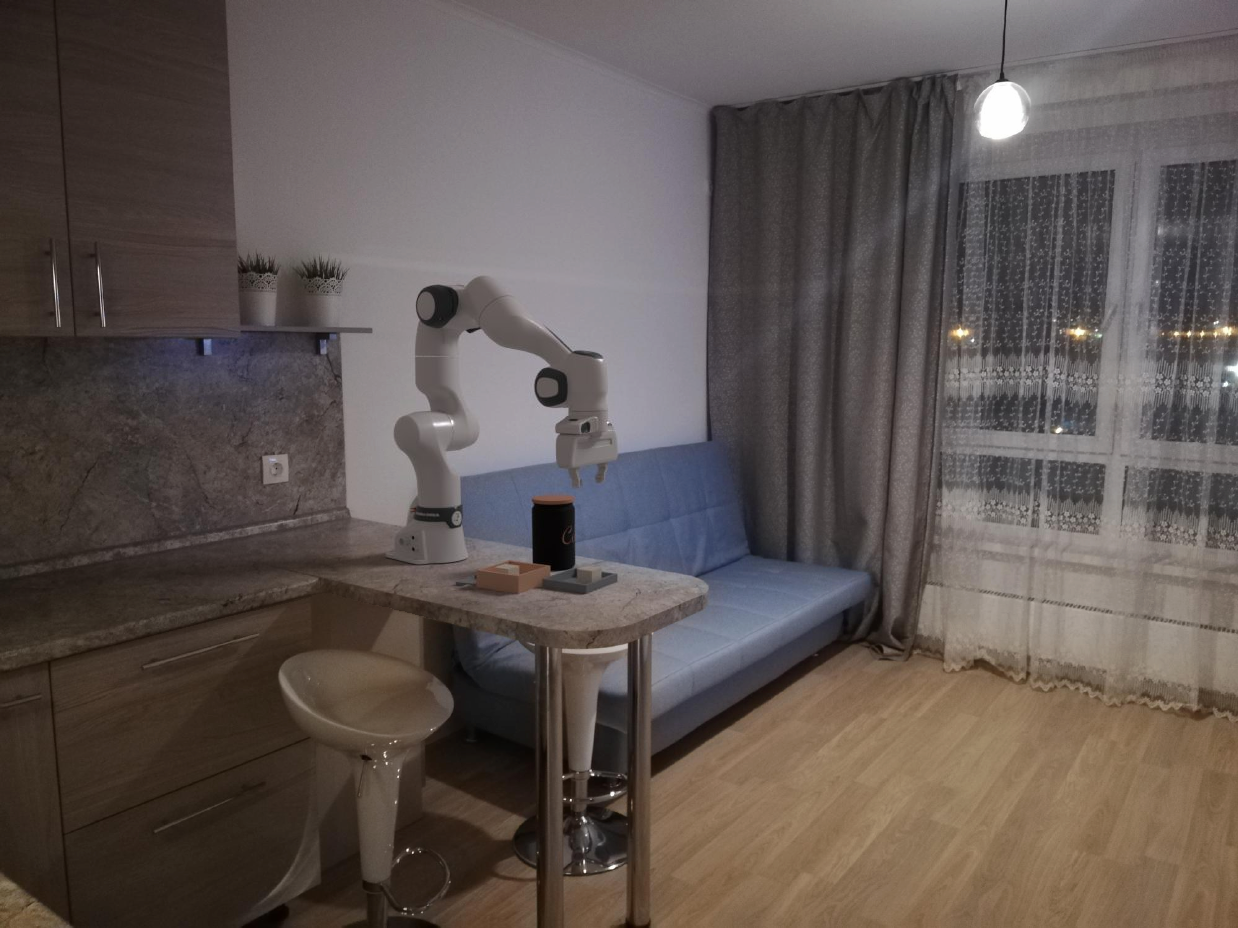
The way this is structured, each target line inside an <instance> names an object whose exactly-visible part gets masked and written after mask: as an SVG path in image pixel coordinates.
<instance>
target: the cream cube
mask: <svg viewBox="0 0 1238 928" xmlns="http://www.w3.org/2000/svg"><path fill="white" fill-rule="evenodd" d="M495 572H499V573H506V574H512V575H519V566H517V565H510V564H503V565H500V566H497V567H495Z"/></svg>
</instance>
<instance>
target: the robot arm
mask: <svg viewBox="0 0 1238 928" xmlns="http://www.w3.org/2000/svg"><path fill="white" fill-rule="evenodd" d="M416 297H417V298H416V301H415V309H416V310H415V311H416V315H417V318H418V319H419V321H418V323H417V329H416V335H415V342H414V343H415V344H414V346H415V347H414V366H415V367H414V369H415V370H414V371H415V372H414V375H415V386H416V388H417V390H418V391H419V392H420V393H421V394H423V395H425V398H426V399H427V401H428V404H429V407H430V409H429V410H423V411H414V412H411V413H408V414H406V415H403V416H401V417H400V418H398V419H397V421H396V422H395V424H394V428H393V438H394V442H395V445H396V446H397V448H398V449H399V450H400V451H401V452H403V453H404V455H406V456H407V458H408V459H409V460H410V462H411V464H412V467H413V470H414V473H415V477H416V486H417V506H416V507H410V510H411V511H410V513H414V514H413V519H412V520H411V521H410V522H408V523H407V524H406V525H405V526H404V527H403V528H401V529H400V530H399V531H398V532H397V533H396V535H395V538H394V548H393V549H391V550H388V551H387V552H385V558H389V559H393V560H398V561H400V562H405V563H408V564H413V565H426V564H428V565H429V564H445V563H453V562H458V561H462V560H466V559H467V558H469V553H468V550H467V546H466V541H465V535H464V527H463V518H464V508H463V503H462V499H461V498H462V494H461V491H462V489H461V486H462V485H461V476H460V474H459V472H458V471H457V470H455V469H454V468H453V467H451V466H450V464H449V461H448V459H447V456H446V455H447V453H446V452H454V451H460V450H463V449H465V448H468V447H470V446H473V445H474V444H475V443H476V442H477V440H478V438H479V436H480V424H479V420H478V418H477V417H476V415H474V414H473V413H472V412H471V411H470V410H469V408H468V407H467V404H466V402H465V400H464V397H463V395H462V391H461V385H460V365H459V362H460V361H459V359H460V358H459V339H460V336H461V335H462V333H463V332H466V333H468V334H473V333H475V332H476V331H480V330H481V331H482V332H483V333H484V334H485V335H486V336H487V337H488V338H489V339H490V340H491V341H492V342H493V343H495V344H497V345H498V346H500V347H503V348H505V349H506V348H507V349H511V350H516V351H522V352H525V353H529V354H533V355H535V356H536V357H537V356H538V357H540V358H541V359H542V360H543V361H545V362H546V363H547V364H548V365H549V366H547V367H543V368H541V369H540V370H539V371H538V373H537V374H536V376H535V379H534V384H533V385H534V386H533V387H534V394H535V395H534V396H535V397H536V399H537V400H538V402H539V403H540V404H541V405H542V406H544V407H546V408H551V409H567V408H568V409H567V410H568V413H567V416H566V415H565V417H564V418H562V419H561V420H560V421H559V422H557V423H556V424H555V426H554V428H555V429H554V432H555V434H558V435H557V437H556V440H555V462H556V464H557V467H558V468H559V469H566V470H568V474H569V477H570V479H571V487H572V488H573V489H574V488H575V489H579V488H581V487H582V486H583V479H582V478H580V472H581V471H580V470H581V468H583V467H589V466H594V465H597V466H596V467H597V472H596V474H594V478H595V479H594V482H595V483H598V484H602V483H605V482H606V473H607V471H608V469H609V463H610V462H611V463H612V462H616V461H617V459H618V455H619V450H618V438H617V433H616V431H615V428H614V426H613V424H612V423H611V422H610V421H608V420H609V419H608V417H609V416H608V415H609V414H608V412H609V411H608V410H609V409H608V405H607V395H608V371H607V363H606V360H605V358H604V356H603V355H602V354H600V353H599V352H596V351H592V350H591V351H590V350H589V351H588V350H580V349H579V350H577V349H576V350H572V349H571V348H570V347H569V346H568V345H567V344H566V343H565V342H564V341H563V340H562V339H561V338H560V337H558V336H557V335H556V333H554V332H553V331H552V330H551V329H549V328H548V327H547V326H546V325H544V324H543V323H542V322H541V321H539V320H538V319H537V318H535V317H534V316H533V315H532V314H531V312H529V311H528V310H527V309H526V307H524V306H523V305H522V304H521V303H520V302H519V300H518V299H516V297H515V296H514V295H513V294H512V293H511V292H510V291H509V290H508V289H507V288H506V287H505V286H504V285H503V284H501V283H500V282H499V281H498V280H497V279H496V278H494V277H492V276H490V275H489V276H488V275H478V276H477V277H474V278H473V279H472V280H470V281H469V282H468V283H467V285H464V284H445V285H443V284H432V285H428V286H425V287H423V288H422V289H421V290H420V291H419V293H418V294H417V296H416Z"/></svg>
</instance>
